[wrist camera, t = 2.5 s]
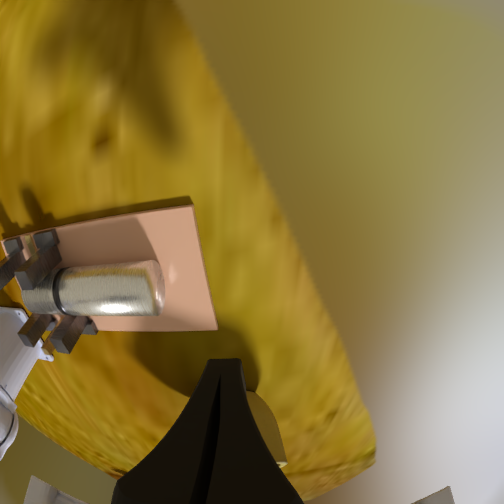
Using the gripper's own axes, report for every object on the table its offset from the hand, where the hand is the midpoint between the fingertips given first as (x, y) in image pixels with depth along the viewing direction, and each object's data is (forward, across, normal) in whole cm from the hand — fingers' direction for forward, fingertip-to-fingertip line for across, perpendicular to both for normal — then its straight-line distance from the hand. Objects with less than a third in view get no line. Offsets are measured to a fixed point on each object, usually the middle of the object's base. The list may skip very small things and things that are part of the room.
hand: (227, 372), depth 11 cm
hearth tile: (+9, +12, 0) cm, 15 cm away
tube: (+8, +11, 0) cm, 14 cm away
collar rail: (+9, +17, 0) cm, 19 cm away
